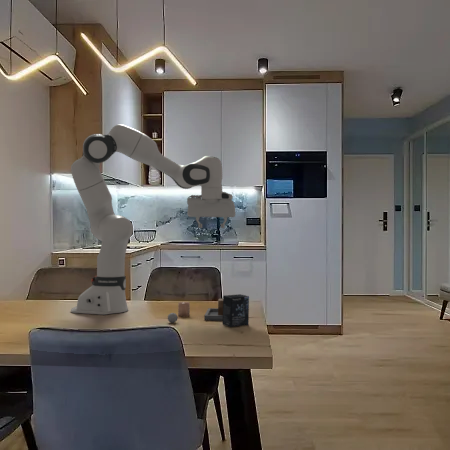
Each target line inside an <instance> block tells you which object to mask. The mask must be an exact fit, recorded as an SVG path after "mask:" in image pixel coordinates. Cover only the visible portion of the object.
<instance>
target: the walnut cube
mask: <svg viewBox="0 0 450 450" xmlns="http://www.w3.org/2000/svg"><path fill="white" fill-rule="evenodd" d="M217 308H218V315H223V298H218V300H217Z"/></svg>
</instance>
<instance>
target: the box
mask: <svg viewBox="0 0 450 450" xmlns="http://www.w3.org/2000/svg"><path fill="white" fill-rule="evenodd" d="M222 299H223V321H222V325H223V326H227V327H230V328H233V327H240V326H241V327H242V326H249V321H250V318H249V316H250V315H249V314H250V313H249V312H250V308H249V307H250V297H249V295H246V294H229V295H227V294H226V295H225V294H224V295H223V296H222Z"/></svg>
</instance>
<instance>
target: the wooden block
mask: <svg viewBox="0 0 450 450" xmlns="http://www.w3.org/2000/svg"><path fill="white" fill-rule="evenodd" d="M190 305H191V303H190V302H189V301H178V304H177V307H178V308H177V309H178V311H177V312H178V313H177V317H189V316H190V315H191V314H190V308H191V307H190Z"/></svg>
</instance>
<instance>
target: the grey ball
mask: <svg viewBox="0 0 450 450" xmlns="http://www.w3.org/2000/svg"><path fill="white" fill-rule="evenodd" d="M178 317H179V316H178V314H176V313H175V312H171V313H169V314H168V316H167V321H168V322H169V323H171V324H174V323H176V322H177V321H178Z"/></svg>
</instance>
